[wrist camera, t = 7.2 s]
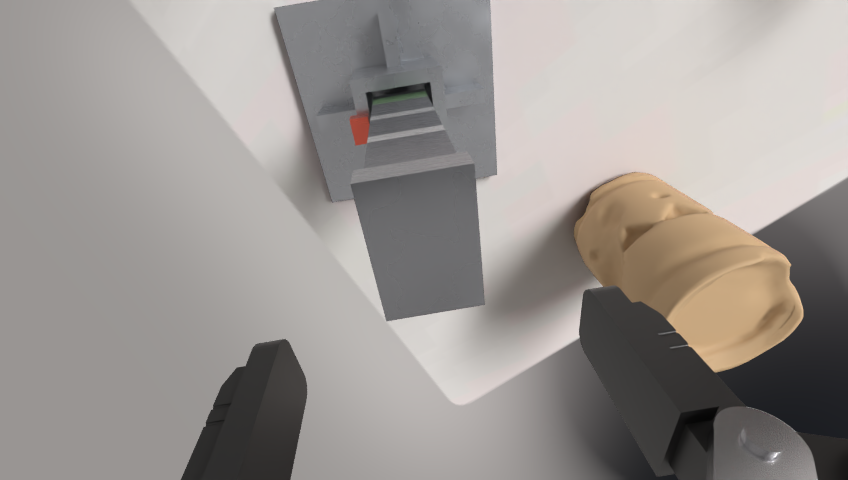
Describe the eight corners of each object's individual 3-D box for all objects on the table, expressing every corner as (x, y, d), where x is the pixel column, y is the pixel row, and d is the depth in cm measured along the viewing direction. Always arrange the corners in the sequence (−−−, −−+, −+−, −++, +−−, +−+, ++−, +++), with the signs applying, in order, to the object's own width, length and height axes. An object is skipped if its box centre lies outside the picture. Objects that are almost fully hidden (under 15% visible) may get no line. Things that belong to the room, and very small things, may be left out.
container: (628, 149, 41) (771, 230, 26) (689, 208, 46) (840, 305, 31) (546, 231, 46) (627, 340, 31) (609, 276, 51) (706, 391, 35)
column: (370, 83, 29) (350, 184, 12) (422, 74, 29) (474, 163, 12) (385, 158, 32) (386, 321, 15) (432, 150, 32) (484, 304, 15)
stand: (277, 7, 32) (241, 6, 24) (486, -27, 32) (518, -40, 24) (333, 198, 41) (321, 242, 34) (494, 171, 41) (520, 208, 34)
